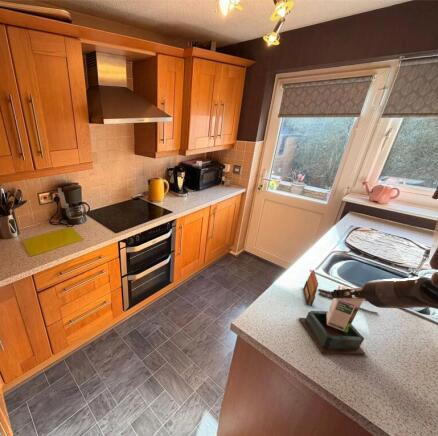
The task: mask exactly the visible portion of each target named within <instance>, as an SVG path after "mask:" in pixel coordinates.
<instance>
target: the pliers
mask: <svg viewBox="0 0 438 436" xmlns="http://www.w3.org/2000/svg"><path fill="white" fill-rule="evenodd" d="M317 291H318V292H319V293H318V295H320V296H323V297H326V298H329V299H333V298H332V296H331V291H332V290H331V291H330V290H326V289H321V288H318V289H317ZM359 310H360V311H363V312H366V313H369V314H374V315H378V312H377V311H372V310H368V309H366V308H362V307H361V306H360V308H359Z"/></svg>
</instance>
